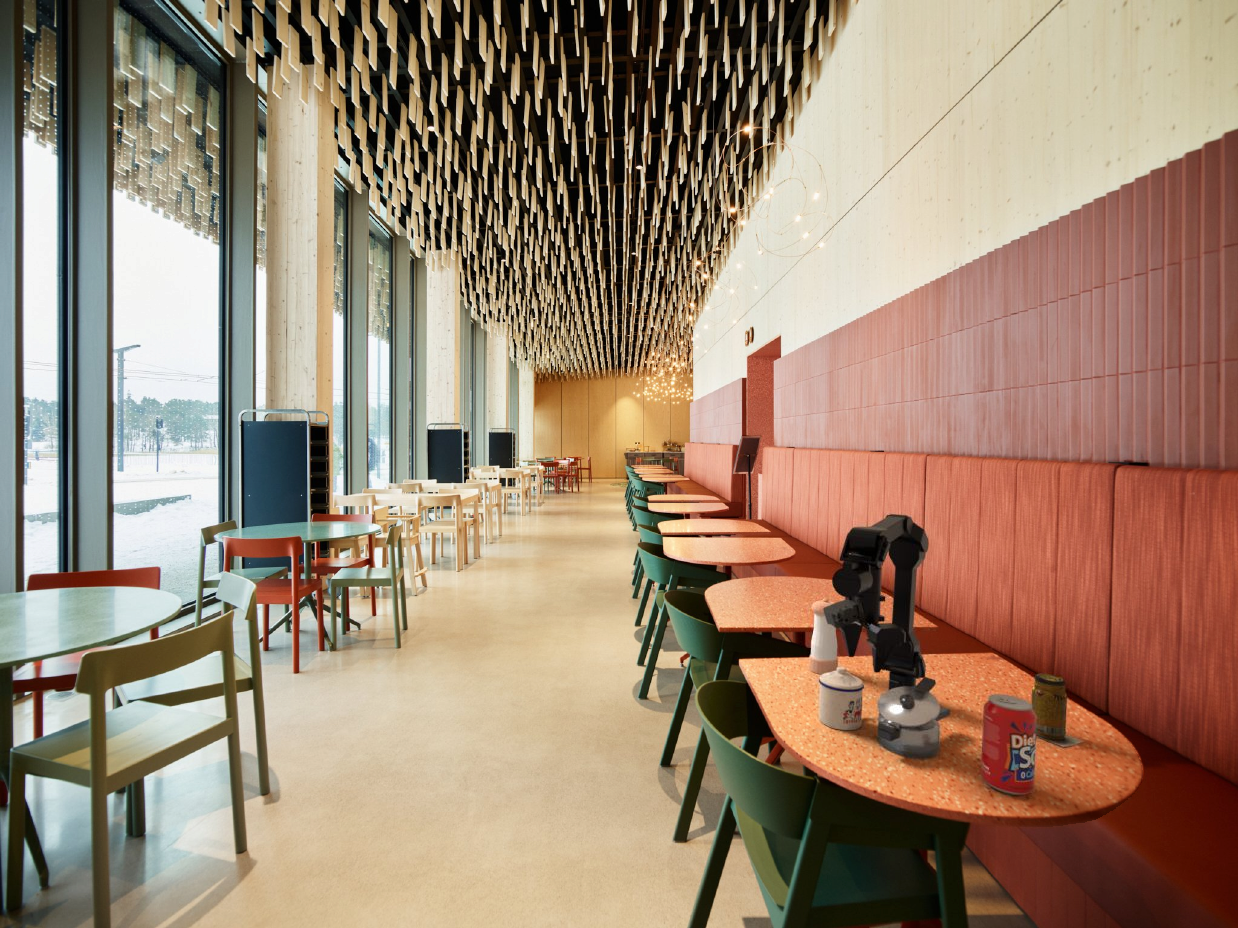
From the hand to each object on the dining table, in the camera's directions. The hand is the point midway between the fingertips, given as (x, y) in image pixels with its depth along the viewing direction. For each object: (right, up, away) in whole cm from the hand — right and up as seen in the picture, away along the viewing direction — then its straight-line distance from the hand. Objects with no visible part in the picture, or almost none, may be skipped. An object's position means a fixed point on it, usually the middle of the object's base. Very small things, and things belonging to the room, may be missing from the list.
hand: (863, 664), depth 128 cm
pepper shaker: (+4, -14, +37) cm, 39 cm away
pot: (+9, -14, -4) cm, 17 cm away
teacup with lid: (-2, -14, +5) cm, 15 cm away
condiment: (+39, -15, 0) cm, 42 cm away
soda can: (+17, -15, -20) cm, 30 cm away
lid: (+7, -6, -5) cm, 11 cm away
